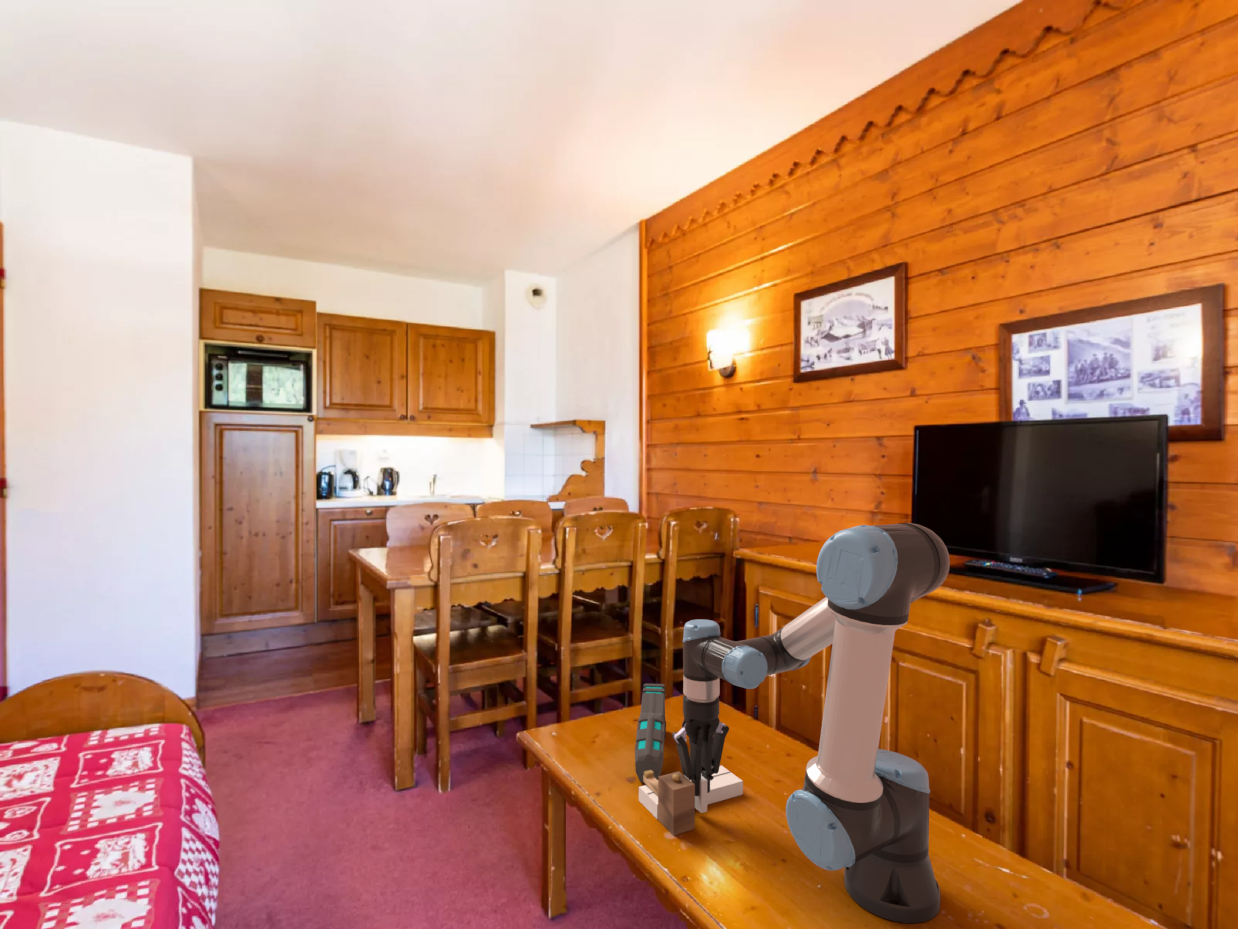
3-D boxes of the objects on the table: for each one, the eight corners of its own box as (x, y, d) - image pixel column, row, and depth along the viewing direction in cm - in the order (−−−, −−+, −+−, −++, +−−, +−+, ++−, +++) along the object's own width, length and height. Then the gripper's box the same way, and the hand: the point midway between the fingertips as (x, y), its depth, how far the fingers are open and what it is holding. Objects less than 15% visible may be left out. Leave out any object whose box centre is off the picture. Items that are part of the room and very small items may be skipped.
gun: (667, 723, 174) (666, 677, 170) (663, 811, 147) (662, 760, 142) (643, 722, 175) (642, 676, 171) (635, 810, 147) (633, 758, 143)
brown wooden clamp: (694, 829, 127) (694, 779, 127) (673, 835, 124) (673, 785, 124) (656, 793, 140) (656, 748, 140) (636, 798, 138) (636, 752, 138)
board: (742, 794, 140) (742, 780, 140) (657, 819, 130) (657, 804, 130) (721, 778, 147) (721, 765, 147) (638, 800, 137) (638, 786, 137)
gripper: (716, 685, 137) (716, 793, 137) (664, 694, 131) (664, 807, 132) (737, 696, 130) (737, 810, 131) (684, 707, 125) (683, 826, 125)
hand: (700, 808), depth 131 cm, fingers closed
